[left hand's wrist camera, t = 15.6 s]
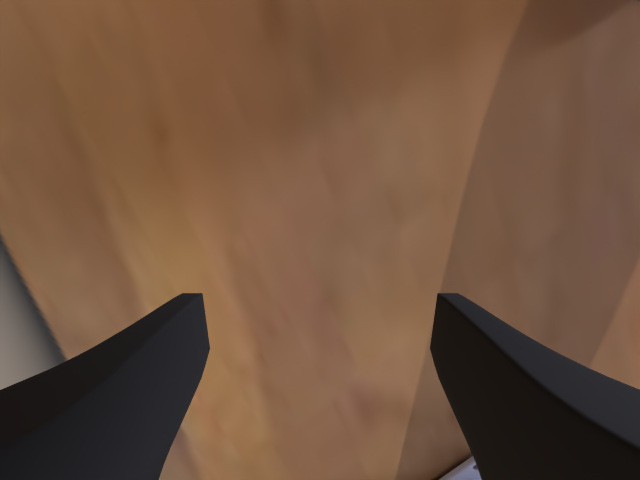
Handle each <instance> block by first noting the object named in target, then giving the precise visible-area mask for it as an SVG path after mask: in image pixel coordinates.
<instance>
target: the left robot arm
mask: <svg viewBox="0 0 640 480" xmlns="http://www.w3.org/2000/svg"><path fill="white" fill-rule="evenodd" d="M638 1H640V0H638ZM209 350H210V346H209V338H208V331H207V324H206V316H205V309H204V302H203V295H202V293H182V294H180V295H178V296H177V297H175V298H173V299H171V300H170V301H168V302H167V303H165V304H163V305H162V306H160V307H159V308H157V309H156V310H154V311H153V312H151V313H149V314H148V315H146V316H145V317H143V318H142V319H140V320H139V321H137V322H135V323H134V324H132V325H131V326H129V327H127V328H126V329H124V330H122V331H121V332H119V333H117V334H115V335H114V336H112V337H110V338H109V339H107V340H105V341H104V342H102V343H100V344H98V345H97V346H95V347H93V348H91V349H89V350H88V351H86V352H84V353H82V354H80V355H78V356H76V357H74V358H72V359H70V360H68V361H66V362H64V363H62V364H60V365H58V366H56V367H53V368H51V369H49V370H47V371H44V372H42V373H40V374H37V375H35V376H33V377H30V378H28V379H26V380H23V381H21V382H18V383H16V384H14V385H11V386H9V387H7V388H4V389H2V390H0V480H159V477H160V474H161V471H162V468H163V465H164V462H165V460H166V457H167V455H168V452H169V450H170V447H171V445H172V443H173V441H174V438H175V436H176V434H177V432H178V430H179V427H180V425H181V423H182V421H183V418H184V416H185V414H186V412H187V409H188V407H189V405H190V403H191V401H192V398H193V396H194V394H195V391H196V389H197V387H198V385H199V382H200V380H201V377H202V374H203V371H204V368H205V364H206V361H207V357H208V353H209ZM430 350H431V353H432V357H433V361H434V364H435V368H436V371H437V374H438V377H439V380H440V382H441V385H442V387H443V389H444V391H445V394H446V396H447V398H448V401H449V403H450V405H451V407H452V410H453V412H454V414H455V416H456V418H457V421H458V423H459V425H460V427H461V430H462V432H463V434H464V436H465V438H466V441H467V443H468V445H469V447H470V450H471V452H472V455H473V457H474V460H475V462H476V465H477V468H478V471H479V474H480V477H481V480H640V390H639V389H636V388H634V387H631V386H629V385H627V384H624V383H622V382H619V381H617V380H614V379H612V378H609V377H607V376H605V375H603V374H600V373H598V372H596V371H594V370H591V369H589V368H587V367H585V366H583V365H581V364H579V363H577V362H575V361H573V360H571V359H569V358H566V357H564V356H562V355H560V354H559V353H557V352H555V351H553V350H551V349H549V348H547V347H546V346H544V345H542V344H540V343H538V342H537V341H535V340H533V339H531V338H530V337H528V336H526V335H524V334H523V333H521V332H519V331H518V330H516V329H514V328H513V327H511V326H510V325H508V324H506V323H505V322H503V321H502V320H500V319H499V318H497V317H495V316H494V315H492V314H491V313H489V312H488V311H486V310H485V309H483V308H481V307H480V306H478V305H477V304H475V303H474V302H472V301H470V300H469V299H467V298H465V297H464V296H462V295H460V294H458V293H438V295H437V302H436V309H435V316H434V324H433V331H432V338H431V346H430Z"/></svg>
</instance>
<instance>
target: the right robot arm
mask: <svg viewBox="0 0 640 480" xmlns="http://www.w3.org/2000/svg"><path fill="white" fill-rule="evenodd" d="M439 480H481V477H480V474H479V471H478V468H477V465H476V462H475V460H474V457H473V456H472V457H470V458H469V459H467V460H466V461H465V462H463V463H462V464H460V465H459V466H457V467H456V468H455V469H453V470H452V471H450V472H449V473H447V474H446V475H445V476H443V477H442V478H440V479H439Z"/></svg>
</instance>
